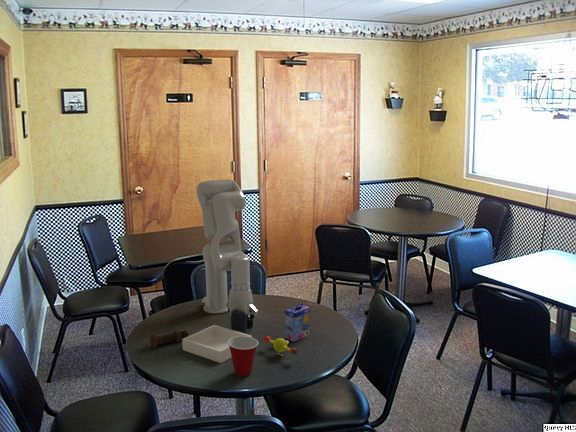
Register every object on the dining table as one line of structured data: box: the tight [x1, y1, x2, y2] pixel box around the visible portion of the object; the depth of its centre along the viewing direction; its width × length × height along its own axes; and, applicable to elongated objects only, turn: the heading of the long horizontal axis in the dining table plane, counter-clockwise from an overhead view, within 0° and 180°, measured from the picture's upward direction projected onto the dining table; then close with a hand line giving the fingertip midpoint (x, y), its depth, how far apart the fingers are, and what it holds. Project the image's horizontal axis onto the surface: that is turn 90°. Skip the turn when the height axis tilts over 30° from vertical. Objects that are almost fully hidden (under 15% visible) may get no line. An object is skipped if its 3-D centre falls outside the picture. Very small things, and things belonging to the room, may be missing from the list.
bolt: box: [149, 329, 190, 349], centre depth 233 cm, size 6×5×15 cm
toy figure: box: [263, 335, 298, 357], centre depth 220 cm, size 18×6×7 cm, turn 42°
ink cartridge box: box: [284, 302, 311, 342], centre depth 237 cm, size 10×6×14 cm, turn 137°
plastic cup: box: [228, 336, 259, 377], centre depth 206 cm, size 11×11×12 cm
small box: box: [230, 309, 252, 335], centre depth 243 cm, size 11×6×10 cm, turn 167°
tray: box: [181, 324, 253, 364], centre depth 228 cm, size 20×18×4 cm
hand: (241, 325), depth 243 cm, fingers closed on small box, 8 cm apart
